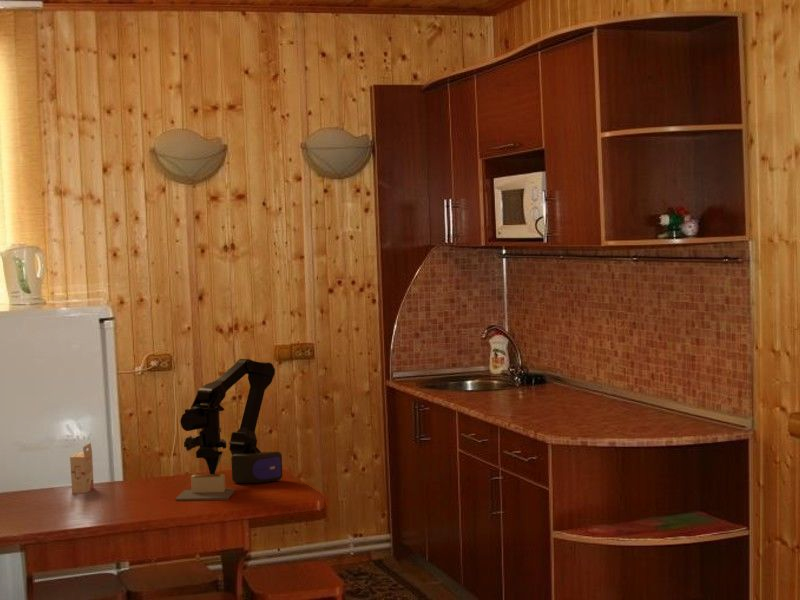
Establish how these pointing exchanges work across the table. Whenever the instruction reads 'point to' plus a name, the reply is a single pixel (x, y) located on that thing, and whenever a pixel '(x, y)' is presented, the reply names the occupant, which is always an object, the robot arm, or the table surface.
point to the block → (208, 483)
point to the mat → (205, 495)
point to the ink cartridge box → (82, 471)
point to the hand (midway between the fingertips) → (212, 475)
